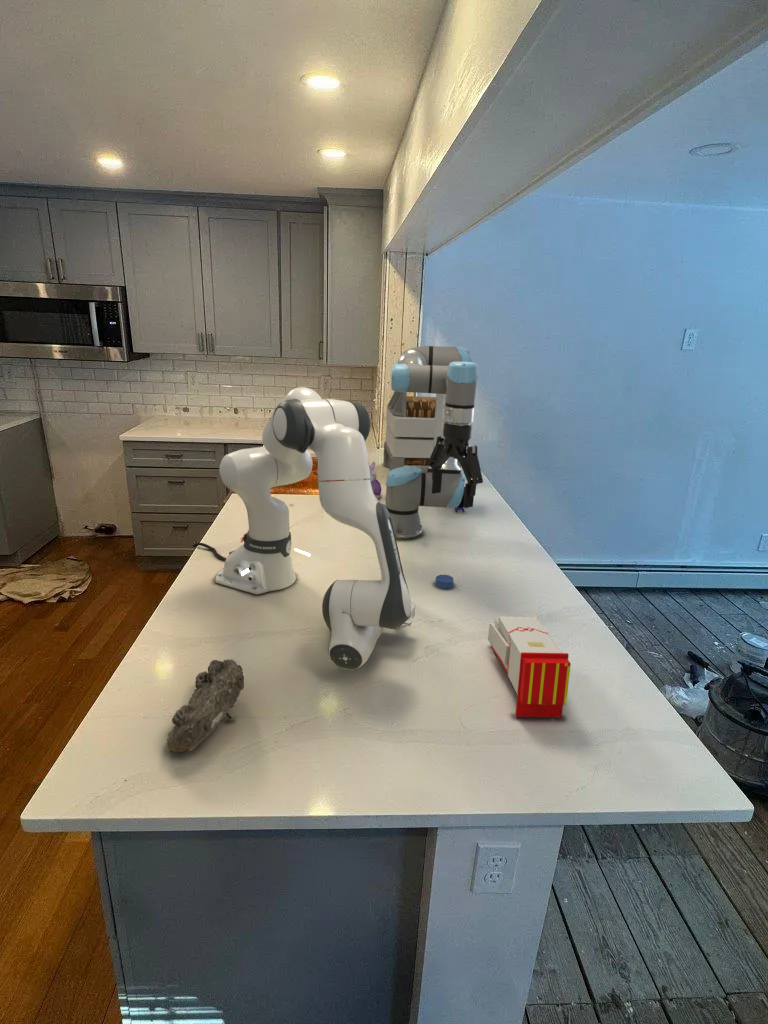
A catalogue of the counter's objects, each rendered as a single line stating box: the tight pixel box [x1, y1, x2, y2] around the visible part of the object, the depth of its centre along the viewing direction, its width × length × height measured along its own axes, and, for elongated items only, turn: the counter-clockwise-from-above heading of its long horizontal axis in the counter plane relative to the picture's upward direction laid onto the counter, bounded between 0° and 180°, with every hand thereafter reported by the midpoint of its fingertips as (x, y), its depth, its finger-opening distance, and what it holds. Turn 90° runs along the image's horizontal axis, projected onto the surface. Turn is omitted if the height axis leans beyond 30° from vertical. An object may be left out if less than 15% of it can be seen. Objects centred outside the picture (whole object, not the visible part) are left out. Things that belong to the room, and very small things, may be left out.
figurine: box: [363, 461, 382, 500], centre depth 234 cm, size 9×10×15 cm
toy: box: [487, 616, 572, 718], centre depth 123 cm, size 12×13×30 cm
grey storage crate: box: [383, 391, 462, 472], centre depth 268 cm, size 34×33×41 cm
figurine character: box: [454, 486, 465, 513], centre depth 227 cm, size 7×8×15 cm
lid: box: [434, 574, 455, 590], centre depth 164 cm, size 5×5×2 cm
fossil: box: [166, 658, 245, 754], centre depth 106 cm, size 22×10×15 cm
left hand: (380, 593), depth 143 cm, fingers open, 8 cm apart
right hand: (451, 499), depth 156 cm, fingers open, 13 cm apart
